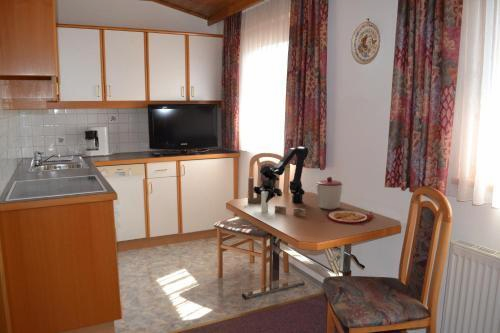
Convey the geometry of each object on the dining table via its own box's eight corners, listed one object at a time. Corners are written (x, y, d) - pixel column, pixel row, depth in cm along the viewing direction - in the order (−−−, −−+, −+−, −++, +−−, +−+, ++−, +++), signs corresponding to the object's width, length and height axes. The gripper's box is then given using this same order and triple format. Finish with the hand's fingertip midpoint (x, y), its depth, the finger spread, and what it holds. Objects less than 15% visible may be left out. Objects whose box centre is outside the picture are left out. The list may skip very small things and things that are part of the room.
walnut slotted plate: (274, 212, 259) (274, 206, 259) (275, 212, 261) (275, 205, 260) (304, 216, 250) (304, 209, 249) (305, 216, 251) (305, 209, 251)
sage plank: (264, 210, 266) (264, 191, 264) (268, 211, 264) (268, 191, 262) (261, 211, 262) (261, 192, 260) (265, 212, 261) (265, 192, 259)
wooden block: (263, 202, 289) (263, 177, 286) (249, 203, 284) (249, 178, 282) (261, 200, 292) (261, 176, 290) (247, 202, 288) (247, 177, 285)
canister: (319, 203, 284) (319, 173, 281) (345, 206, 276) (346, 175, 273) (311, 209, 268) (312, 177, 265) (339, 212, 260) (340, 179, 257)
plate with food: (331, 213, 262) (331, 207, 261) (373, 216, 250) (373, 211, 250) (320, 223, 240) (320, 217, 240) (366, 228, 228) (366, 221, 228)
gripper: (254, 174, 267) (246, 193, 259) (280, 176, 259) (273, 196, 251) (260, 183, 275) (252, 203, 267) (285, 186, 267) (278, 206, 259)
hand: (263, 202), depth 261 cm, fingers closed on sage plank, 3 cm apart
